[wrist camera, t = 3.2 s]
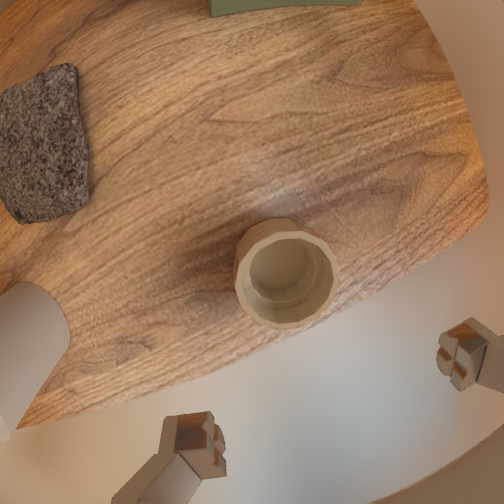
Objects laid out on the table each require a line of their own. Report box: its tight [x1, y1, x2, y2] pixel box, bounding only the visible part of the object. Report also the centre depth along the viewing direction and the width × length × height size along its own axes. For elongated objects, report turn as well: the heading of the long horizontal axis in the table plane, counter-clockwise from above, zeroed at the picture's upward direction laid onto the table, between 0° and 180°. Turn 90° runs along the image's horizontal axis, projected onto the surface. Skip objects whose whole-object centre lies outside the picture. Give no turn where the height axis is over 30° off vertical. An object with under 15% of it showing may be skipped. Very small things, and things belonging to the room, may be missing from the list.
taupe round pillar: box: [0, 282, 70, 441], centre depth 16 cm, size 8×8×12 cm
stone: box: [0, 63, 89, 225], centre depth 15 cm, size 12×9×4 cm
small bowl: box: [233, 218, 340, 330], centre depth 19 cm, size 6×6×4 cm
